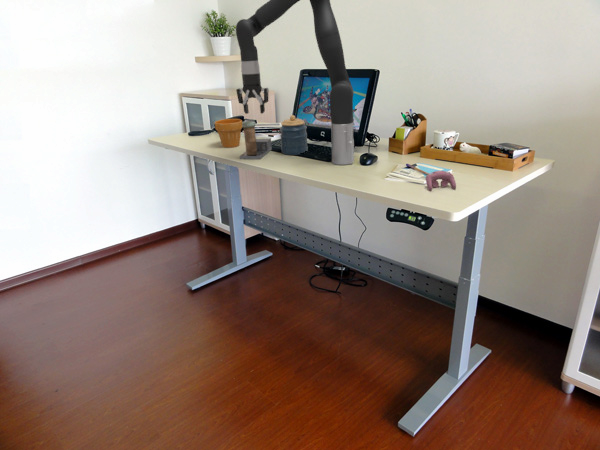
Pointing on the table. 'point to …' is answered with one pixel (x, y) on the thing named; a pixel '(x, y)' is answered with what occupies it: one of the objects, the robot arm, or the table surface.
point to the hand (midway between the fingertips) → (254, 113)
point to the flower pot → (229, 132)
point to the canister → (293, 136)
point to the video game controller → (445, 176)
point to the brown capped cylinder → (250, 137)
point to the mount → (259, 149)
